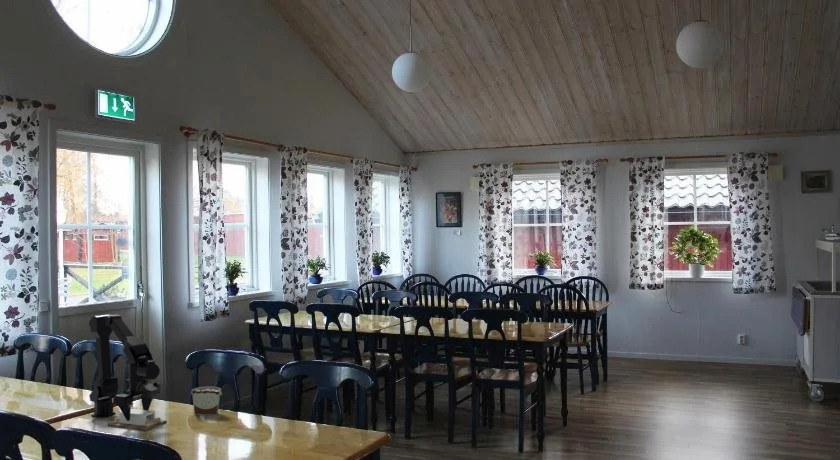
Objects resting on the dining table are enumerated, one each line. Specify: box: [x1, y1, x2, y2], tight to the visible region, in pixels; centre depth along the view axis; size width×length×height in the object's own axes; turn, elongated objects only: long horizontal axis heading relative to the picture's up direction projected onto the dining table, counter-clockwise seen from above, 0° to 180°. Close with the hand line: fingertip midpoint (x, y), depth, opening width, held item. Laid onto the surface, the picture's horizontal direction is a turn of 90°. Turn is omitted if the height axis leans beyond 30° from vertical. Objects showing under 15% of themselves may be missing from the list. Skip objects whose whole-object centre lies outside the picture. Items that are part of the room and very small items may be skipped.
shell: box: [118, 408, 156, 426], centre depth 259 cm, size 12×6×4 cm, turn 71°
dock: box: [107, 416, 168, 431], centre depth 259 cm, size 18×11×2 cm, turn 71°
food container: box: [190, 386, 223, 416], centre depth 275 cm, size 12×6×10 cm, turn 84°
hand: (137, 417), depth 259 cm, fingers open, 9 cm apart
